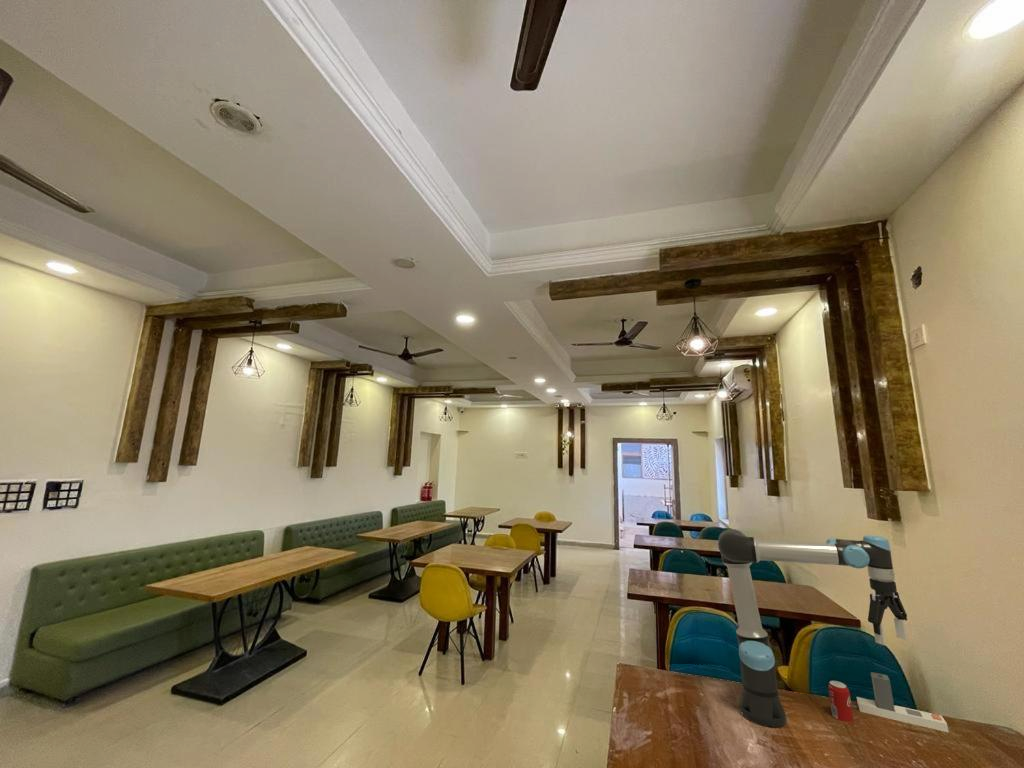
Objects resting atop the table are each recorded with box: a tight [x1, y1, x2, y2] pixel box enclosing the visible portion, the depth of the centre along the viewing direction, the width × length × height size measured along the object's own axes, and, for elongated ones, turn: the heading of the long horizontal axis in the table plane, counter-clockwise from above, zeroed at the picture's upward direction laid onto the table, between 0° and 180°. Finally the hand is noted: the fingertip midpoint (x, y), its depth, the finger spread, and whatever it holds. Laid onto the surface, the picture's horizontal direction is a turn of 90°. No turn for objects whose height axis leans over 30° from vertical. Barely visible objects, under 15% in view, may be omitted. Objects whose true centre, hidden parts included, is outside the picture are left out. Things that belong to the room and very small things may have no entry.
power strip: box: [851, 696, 950, 733], centre depth 154 cm, size 27×6×4 cm, turn 58°
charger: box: [870, 671, 895, 711], centre depth 156 cm, size 5×5×13 cm
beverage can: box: [827, 680, 854, 724], centre depth 154 cm, size 6×6×12 cm
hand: (891, 641), depth 153 cm, fingers open, 13 cm apart
